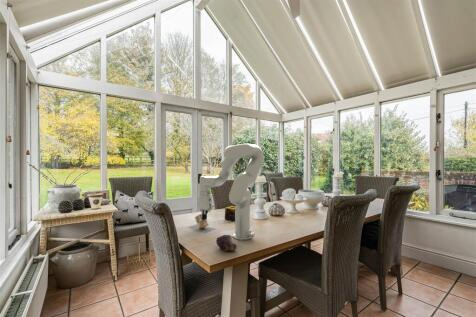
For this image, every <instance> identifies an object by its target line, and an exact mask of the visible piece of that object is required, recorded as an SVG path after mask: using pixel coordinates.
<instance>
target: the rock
mask: <svg viewBox="0 0 476 317" xmlns="http://www.w3.org/2000/svg"><path fill="white" fill-rule="evenodd" d="M232 238H233V236H232V235H230V234H223V235H220V236H218V237H217V238H216V239H215V240H216V241H215V242H216V245H217V247H218V248H219V250H221V251H222V252H228V251H231V252H233V251H236V250H237V247H238V245H237V244H236V243H234V242H233V239H232Z"/></svg>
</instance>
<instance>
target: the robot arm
mask: <svg viewBox="0 0 476 317" xmlns="http://www.w3.org/2000/svg"><path fill="white" fill-rule="evenodd" d="M223 156H224V157H223V159H222V160H221V161H220V162H219V164H220V166H221V170H220V171H219V172H218V174H217V175H212V176H211V175H210V176H209V175H201V176H200V177H199V195H198V200H197V208H198V210H199V211H200V212H201V214H202V220H205V219H206V220H207V219H208V213H211V211H212V209H213V199H212V195H211V194H212V192H211V188H216V187H221V186H222V185H224V184H225V182H226V181H227V180H228V179H229V177H230V174H231V170H232V169H233V168H234V166H235V165H236V164H237V163H238V161H240V159H244V158H250V160H249V162H248V163H247V165H246V167H245V170H244V171H243V172H241V173H239V174H237V175H236V177H235V178H234V181H233V182H232V185H231V188H230V191H229V194H228V200H229V202H230V203H231V204H232V205H233V206H234V205H235V206H236V207H235V221H234V226H235V227H234V232H233V234H232V238H233V239H235V240H238V241H239V240H240V241H244V240H245V241H247V240H250V239H252V238H255V235H256V234H255V232H252V229H251V203H252V192H251V190H250V189H249V188H251V187H253V186H254V185H255V184H256V180H257V178H258V176H259V173H260V170H261V168H262V165H263V162H264V160H265V159H264V158H265V157H264V152H263V150H262V149H261V146H259V145H257V144H255V143H254V144H252V143H239V144H234V145H228V146H227V147H225V148H224V151H223Z"/></svg>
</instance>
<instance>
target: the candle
mask: <svg viewBox="0 0 476 317" xmlns="http://www.w3.org/2000/svg"><path fill="white" fill-rule="evenodd" d="M235 207H236V205H235V206H234V205H230V206H226V207H224V220H225V221H230V222H235Z"/></svg>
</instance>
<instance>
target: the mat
mask: <svg viewBox="0 0 476 317" xmlns="http://www.w3.org/2000/svg"><path fill="white" fill-rule="evenodd" d="M186 228H187V229H189V230H190V229H191V230H194V231H198V232H202V233H210V232H211V231H214V230H216V228H214V227H209V226H206V227H204V228H202V229H199V227H198V225H197V224H193V225H191V226H188V227H186Z"/></svg>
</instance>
